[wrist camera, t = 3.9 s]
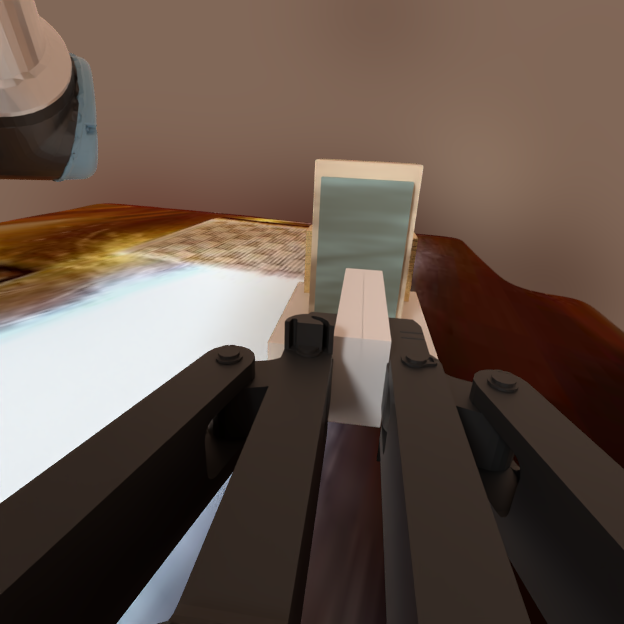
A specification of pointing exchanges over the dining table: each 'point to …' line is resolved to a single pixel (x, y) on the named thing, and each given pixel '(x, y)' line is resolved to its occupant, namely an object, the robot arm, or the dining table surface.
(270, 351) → the base
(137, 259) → the dining table surface
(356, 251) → the wooden tall block
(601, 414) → the dining table surface
